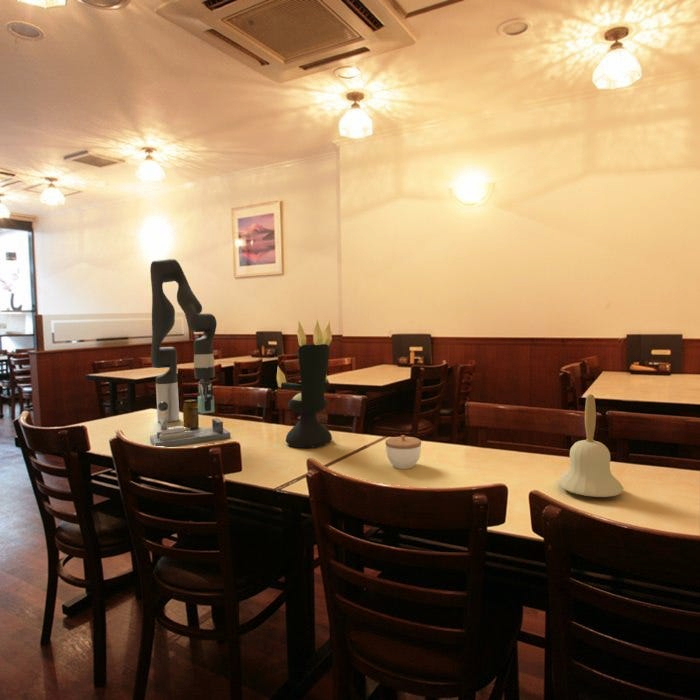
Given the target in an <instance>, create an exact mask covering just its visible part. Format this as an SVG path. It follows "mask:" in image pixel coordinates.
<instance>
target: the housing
mask: <svg viewBox="0 0 700 700" xmlns="http://www.w3.org/2000/svg"><path fill="white" fill-rule="evenodd" d="M207 397H209V395H207ZM197 406H198V414H203V415H204V414H209V413H210V414H211V413H215V397H214V396H213V399H212V400H211V410H210V411H205V402H204V396H199V395H198V396H197Z"/></svg>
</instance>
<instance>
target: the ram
mask: <svg viewBox="0 0 700 700" xmlns="http://www.w3.org/2000/svg"><path fill="white" fill-rule="evenodd" d="M158 409H159V410H160V422H159V423H160V427H159V432H160V435H164V434H171V433H179V432H186V431H188V428H187V427H186V428H184V425H177V426H176V425H175V426H169V427H168V422H167V409H168V404H167V403H166V402H164V401H163V402H160V403H159V404H158Z"/></svg>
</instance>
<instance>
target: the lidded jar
mask: <svg viewBox="0 0 700 700" xmlns="http://www.w3.org/2000/svg"><path fill="white" fill-rule="evenodd" d="M421 445H422V441H421V439H420V438H417V437H413V436H406V435H404V434H402V435H400V436H394V437H393V436H392V437H390V438H389V437H388V438H387V439H386V440H385V448H386V449H385V452H386V456H387V458H388V460H389V462H390V463H391V464H392V465H393V467H394V468H397V469H399V470H400V469H402V470H406V469H408V470H409V469H411V468H414V466H415V465H416V464H417V463H418V461H419V460H420V457H421V450H422V447H421Z"/></svg>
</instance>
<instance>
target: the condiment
mask: <svg viewBox="0 0 700 700" xmlns="http://www.w3.org/2000/svg"><path fill="white" fill-rule="evenodd" d="M182 413H183V414H182V416H183V427H184V428H186V427H187V428H190V430H198V429H204V428H203V427H200V426H199V425H200V417H199V412H198V399H185V400H183V407H182Z"/></svg>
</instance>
